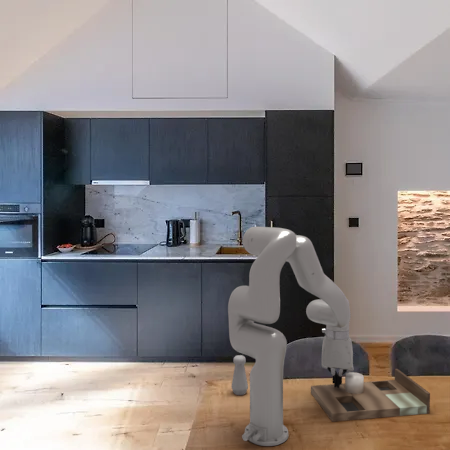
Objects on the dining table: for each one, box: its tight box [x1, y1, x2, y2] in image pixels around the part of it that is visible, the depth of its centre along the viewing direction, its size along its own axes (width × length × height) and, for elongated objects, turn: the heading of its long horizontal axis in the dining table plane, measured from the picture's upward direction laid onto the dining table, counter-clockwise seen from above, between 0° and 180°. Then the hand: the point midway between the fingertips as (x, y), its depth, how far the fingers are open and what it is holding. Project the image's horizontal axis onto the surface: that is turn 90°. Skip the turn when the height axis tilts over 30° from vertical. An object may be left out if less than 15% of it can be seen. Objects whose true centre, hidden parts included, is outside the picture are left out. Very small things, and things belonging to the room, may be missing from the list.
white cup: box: [344, 371, 365, 394], centre depth 156 cm, size 6×6×5 cm
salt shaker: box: [231, 354, 249, 396], centre depth 160 cm, size 6×6×13 cm
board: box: [310, 368, 431, 422], centre depth 152 cm, size 32×20×6 cm, turn 98°
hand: (337, 385), depth 158 cm, fingers closed
